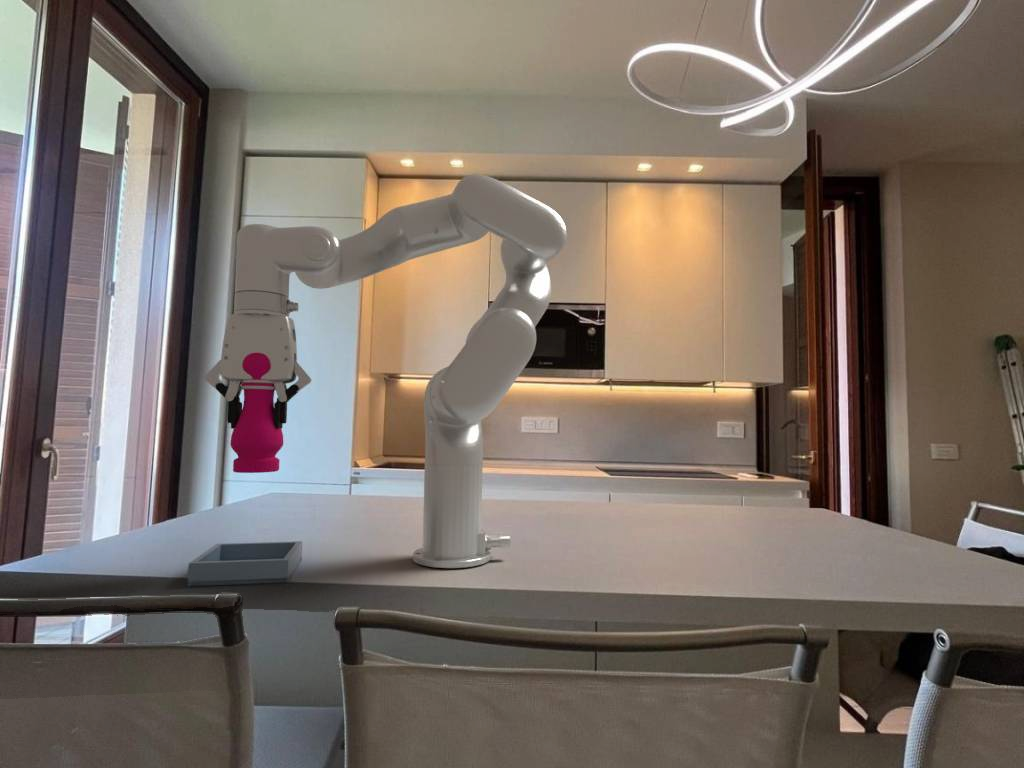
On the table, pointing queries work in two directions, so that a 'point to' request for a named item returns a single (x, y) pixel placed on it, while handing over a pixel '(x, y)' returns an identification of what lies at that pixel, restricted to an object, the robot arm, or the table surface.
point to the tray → (245, 563)
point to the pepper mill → (256, 421)
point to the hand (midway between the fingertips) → (257, 427)
